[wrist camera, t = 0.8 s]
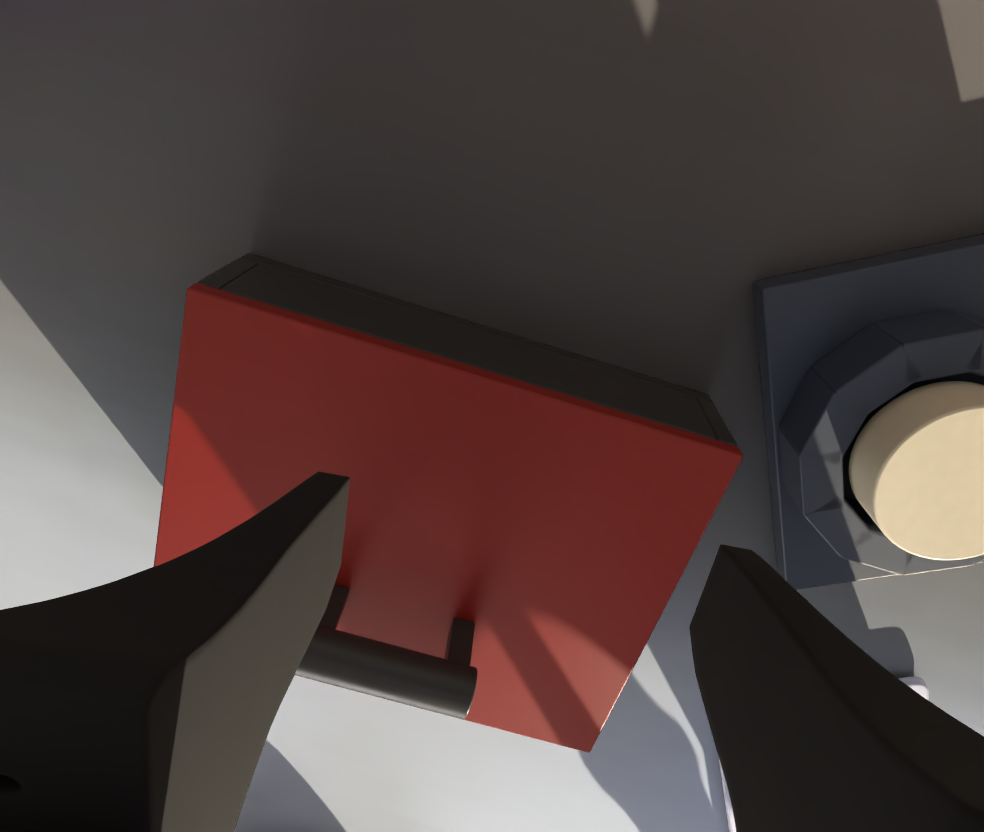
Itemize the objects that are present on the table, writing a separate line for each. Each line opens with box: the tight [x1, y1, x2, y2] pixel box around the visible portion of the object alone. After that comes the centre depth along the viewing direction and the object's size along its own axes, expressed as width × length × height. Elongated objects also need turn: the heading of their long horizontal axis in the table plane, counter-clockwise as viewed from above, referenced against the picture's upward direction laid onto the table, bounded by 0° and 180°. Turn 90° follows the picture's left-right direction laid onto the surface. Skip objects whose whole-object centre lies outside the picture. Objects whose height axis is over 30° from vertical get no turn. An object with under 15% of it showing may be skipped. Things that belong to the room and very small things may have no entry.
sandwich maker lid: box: [154, 283, 743, 752], centre depth 20 cm, size 12×15×4 cm
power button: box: [849, 381, 984, 560], centre depth 20 cm, size 5×5×2 cm
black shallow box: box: [198, 254, 737, 446], centre depth 23 cm, size 11×15×4 cm
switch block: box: [753, 234, 984, 590], centre depth 22 cm, size 11×8×3 cm
